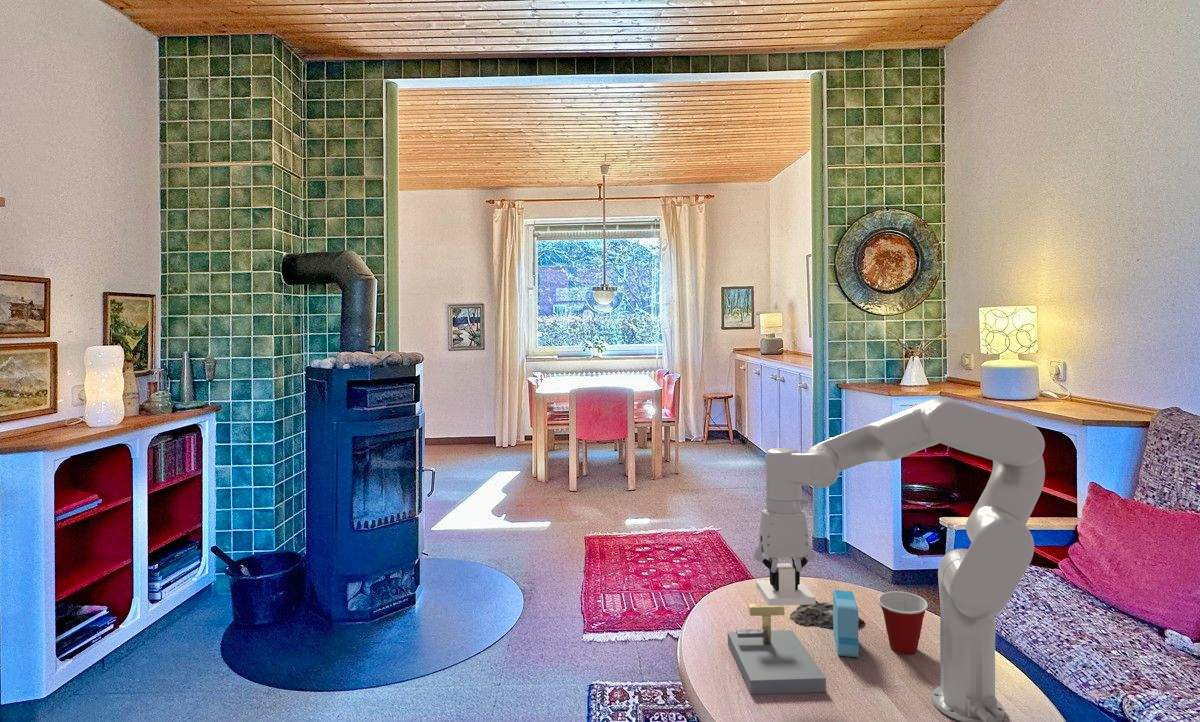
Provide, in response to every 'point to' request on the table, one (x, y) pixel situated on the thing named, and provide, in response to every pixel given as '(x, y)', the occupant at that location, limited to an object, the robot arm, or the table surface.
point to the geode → (816, 615)
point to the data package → (845, 623)
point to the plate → (776, 664)
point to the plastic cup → (903, 619)
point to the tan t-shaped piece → (766, 614)
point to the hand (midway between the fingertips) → (784, 587)
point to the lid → (785, 589)
